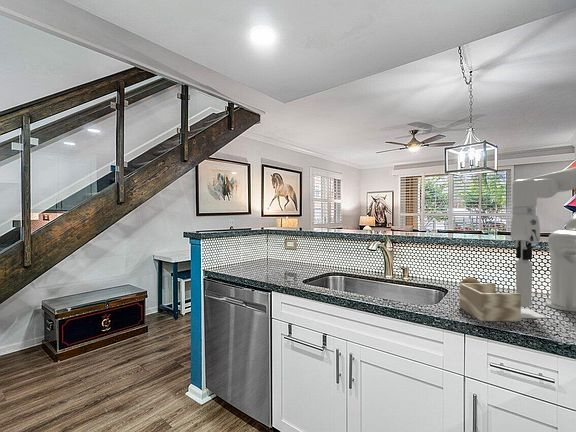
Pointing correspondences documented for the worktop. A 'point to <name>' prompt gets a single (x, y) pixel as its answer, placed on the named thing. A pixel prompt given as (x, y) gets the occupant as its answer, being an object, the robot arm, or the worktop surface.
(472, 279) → the natural sponge
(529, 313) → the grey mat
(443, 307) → the worktop surface
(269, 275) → the worktop surface
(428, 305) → the worktop surface
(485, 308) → the open side box
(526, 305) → the bottle
